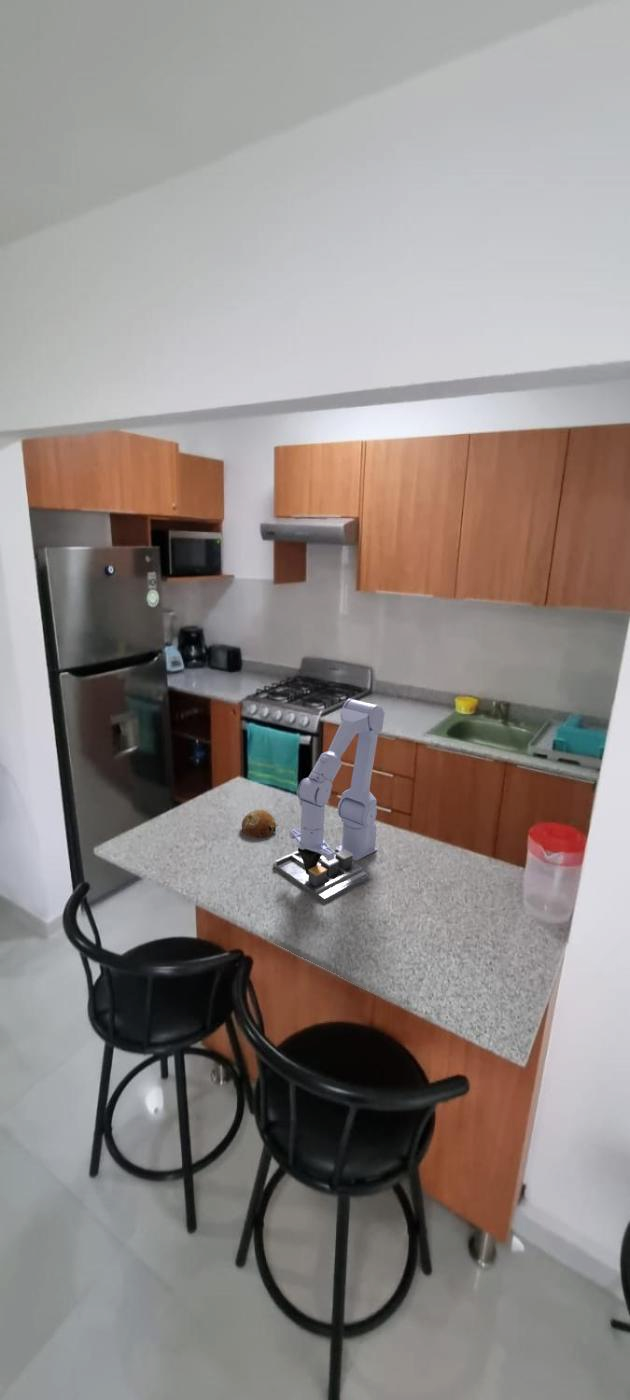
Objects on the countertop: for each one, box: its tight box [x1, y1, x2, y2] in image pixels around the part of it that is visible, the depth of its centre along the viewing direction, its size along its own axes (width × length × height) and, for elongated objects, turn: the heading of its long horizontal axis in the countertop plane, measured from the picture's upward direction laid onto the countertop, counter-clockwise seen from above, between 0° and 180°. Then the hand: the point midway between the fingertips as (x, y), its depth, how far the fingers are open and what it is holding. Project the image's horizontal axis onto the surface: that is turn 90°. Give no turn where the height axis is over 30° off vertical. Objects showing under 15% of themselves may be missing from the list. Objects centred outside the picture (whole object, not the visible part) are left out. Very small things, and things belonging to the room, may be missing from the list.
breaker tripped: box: [308, 865, 327, 887], centre depth 140 cm, size 3×3×4 cm
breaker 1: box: [321, 858, 339, 877], centre depth 145 cm, size 3×3×4 cm
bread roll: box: [241, 809, 278, 839], centre depth 168 cm, size 10×10×8 cm
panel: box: [272, 850, 370, 904], centre depth 147 cm, size 16×20×2 cm
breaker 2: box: [335, 849, 353, 870], centre depth 148 cm, size 3×3×4 cm
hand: (310, 873), depth 142 cm, fingers closed, pressing on breaker tripped
